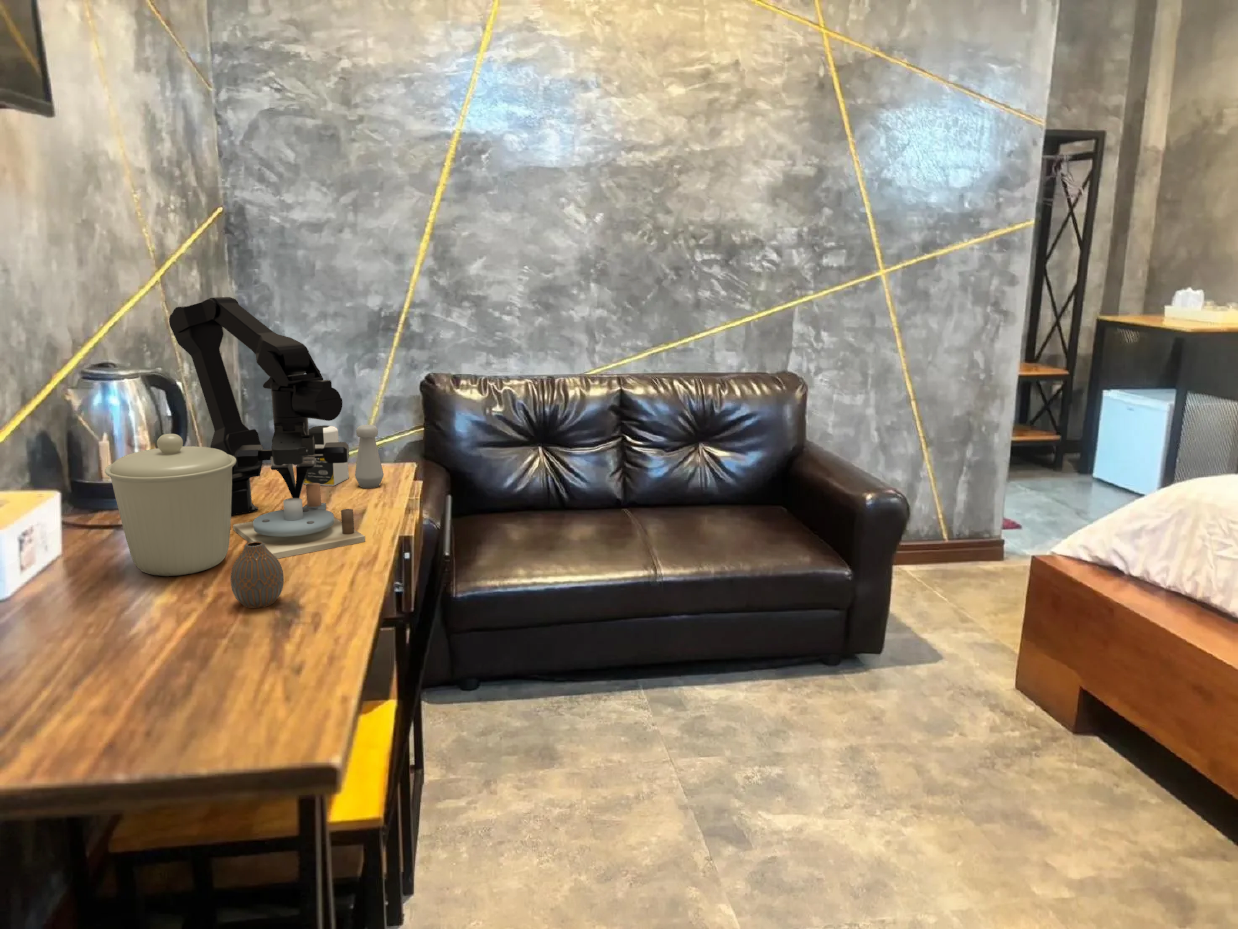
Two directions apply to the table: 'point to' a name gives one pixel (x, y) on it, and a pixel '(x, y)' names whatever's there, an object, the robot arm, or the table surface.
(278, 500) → the table surface
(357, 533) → the board
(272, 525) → the flange plate
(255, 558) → the vase
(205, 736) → the table surface
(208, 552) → the canister
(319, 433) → the medicine bottle
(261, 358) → the robot arm
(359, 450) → the salt shaker
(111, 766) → the table surface
